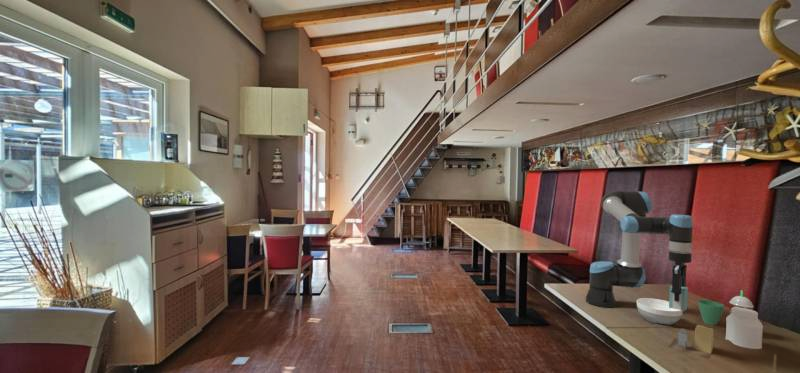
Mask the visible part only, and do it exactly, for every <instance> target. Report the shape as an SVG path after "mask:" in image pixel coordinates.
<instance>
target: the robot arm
mask: <svg viewBox="0 0 800 373" xmlns="http://www.w3.org/2000/svg"><path fill="white" fill-rule="evenodd" d="M651 199H652V198H651V197H650V195H649V194H648V193H647V192H645V191H637V190H615V191H614V190H613V191H610V192H607V193H606V194H604V196H603V197H602V198H601V201H600V206H601V208H602V210H603V211H604V212H606V213H607V214H610V215H612V216H613V217H614V218H616V219H617V220H618V221H619V223H620V224H619V225H620V229H621V230H622V237H621V248H620V250H621V251H620V259H618V260H617V261H616V264H614V263H613V262H611V261H605V260H604V261H603V260H601V261H594V262H591V263H590V267H589V287H588V291H587V293H586V295H585V302H586V303H587V304H590V305H592V306H596V307H601V308H614V307H616V306H617V300H616V298H615V295H614V290H613V289H614V288H613V287H624V288H633V289H634V288H640V287H642V286H643V285H644V284H645V281H646V275H647V274H646V270H645V268H644V267H643V266H642V263H640V248H641V239H642V238H641V237H642V234H648V235H649V234H650V235H651V234H652V235H668V236H669V240H668V241H669V242H668V250H669V252H668V260H669V261H671V262H674V265H672V270H671V271H672V272H671V273H672V277H671V278H672V279H671V280H672V282H671V286H672V291H671V292H672V293H673V308H674V309H679V310H681V299H682V294H681V287H687V267H688V266H687V265H686V264H690V263H692V249H693V248H694V245H693V229H694V228H693V226H694V223H693V217H692V216H691V215H688V214H687V215H686V214H671V215H670V216H660V217H659V216H647V214H649V213H651V211H652V208H653V204H652V200H651Z"/></svg>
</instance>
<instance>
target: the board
mask: <svg viewBox="0 0 800 373" xmlns="http://www.w3.org/2000/svg"><path fill="white" fill-rule="evenodd" d="M694 345H695V343H692V342H689V341H687V348H686V349H683V348H679V347H678V338H676V337H675V338H673V340H671V343H670V344H669V345H668V348H671V349H674V350H678V351H682V352H685V353H688V354H692V355H695V356H697V357H698V356H699V357H702V358H706V359H710V358H711V355H712V353H713V350H714V349H713V350H712V352H711V353H707V352H704V351H700V350H696V349H694Z"/></svg>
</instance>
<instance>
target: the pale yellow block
mask: <svg viewBox="0 0 800 373" xmlns="http://www.w3.org/2000/svg"><path fill="white" fill-rule="evenodd" d="M694 344H695V345H694V349H696V350H700V351H704V352H707V353H711V352H712V353H713V351H712V350H714V328H711V327H707V326H703V325H700V324H699V325H698V324H697V325H696V326H695V329H694ZM712 353H711V354H712Z"/></svg>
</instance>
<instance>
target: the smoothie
mask: <svg viewBox="0 0 800 373" xmlns="http://www.w3.org/2000/svg"><path fill="white" fill-rule="evenodd" d="M743 294H744V292H743V290H742V289H741V290H740V295H736V296H734V297H732V298H731V299H730V300H729V301H728V303H729V315H730V314H731V312H732V308H733V307H740V308H746V309H750V310H753V311H754V304H753V302H752V301H751V300H750V299H749V298H748V297H746V296H743Z"/></svg>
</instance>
